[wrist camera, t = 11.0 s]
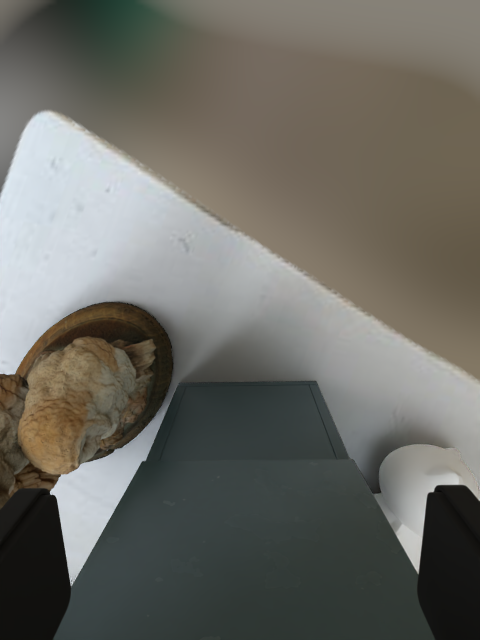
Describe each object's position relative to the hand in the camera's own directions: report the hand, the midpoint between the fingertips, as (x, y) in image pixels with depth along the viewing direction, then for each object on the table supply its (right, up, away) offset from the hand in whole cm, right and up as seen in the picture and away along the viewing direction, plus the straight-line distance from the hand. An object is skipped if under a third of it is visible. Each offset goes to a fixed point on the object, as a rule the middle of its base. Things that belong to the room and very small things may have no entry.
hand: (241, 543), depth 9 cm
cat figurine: (+14, -9, +28) cm, 32 cm away
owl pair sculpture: (-13, -1, +26) cm, 29 cm away
